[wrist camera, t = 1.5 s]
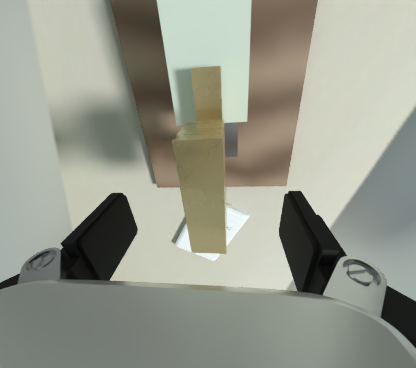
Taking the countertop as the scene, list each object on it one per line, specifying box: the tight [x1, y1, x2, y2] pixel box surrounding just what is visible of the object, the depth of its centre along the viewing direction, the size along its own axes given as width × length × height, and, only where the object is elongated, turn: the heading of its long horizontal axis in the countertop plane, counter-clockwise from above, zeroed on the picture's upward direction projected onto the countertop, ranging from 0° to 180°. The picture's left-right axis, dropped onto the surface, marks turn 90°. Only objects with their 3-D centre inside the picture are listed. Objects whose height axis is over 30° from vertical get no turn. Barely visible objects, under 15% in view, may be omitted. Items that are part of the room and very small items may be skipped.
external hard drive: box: [175, 204, 250, 261], centre depth 31 cm, size 2×8×12 cm
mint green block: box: [157, 0, 252, 125], centre depth 14 cm, size 10×6×3 cm, turn 4°
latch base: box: [110, 0, 318, 187], centre depth 19 cm, size 22×18×4 cm
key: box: [172, 66, 227, 254], centre depth 15 cm, size 11×2×13 cm, turn 4°
